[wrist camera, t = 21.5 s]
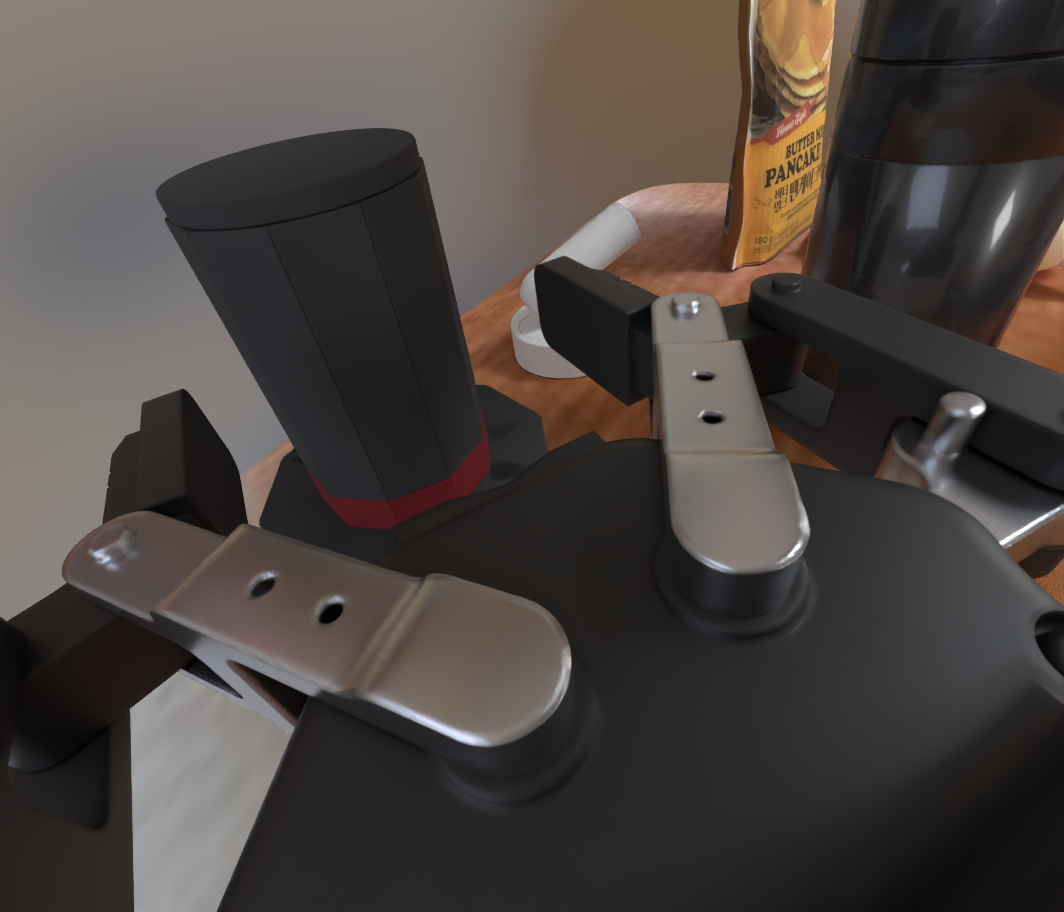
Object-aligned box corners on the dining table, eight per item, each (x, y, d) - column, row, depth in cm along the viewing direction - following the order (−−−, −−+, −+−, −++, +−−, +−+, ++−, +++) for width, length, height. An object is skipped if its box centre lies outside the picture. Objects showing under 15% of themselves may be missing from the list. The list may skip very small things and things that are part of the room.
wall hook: (670, 213, 32) (521, 256, 30) (664, 349, 39) (541, 391, 36) (604, 185, 38) (477, 219, 36) (608, 305, 45) (500, 340, 43)
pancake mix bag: (678, 269, 48) (706, -208, 30) (770, 203, 58) (834, -190, 39) (749, 283, 45) (830, -254, 26) (834, 210, 54) (939, -223, 35)
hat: (441, 367, 26) (367, 104, 18) (613, 467, 19) (604, 118, 12) (230, 484, 21) (20, 193, 14) (361, 669, 14) (88, 301, 7)
